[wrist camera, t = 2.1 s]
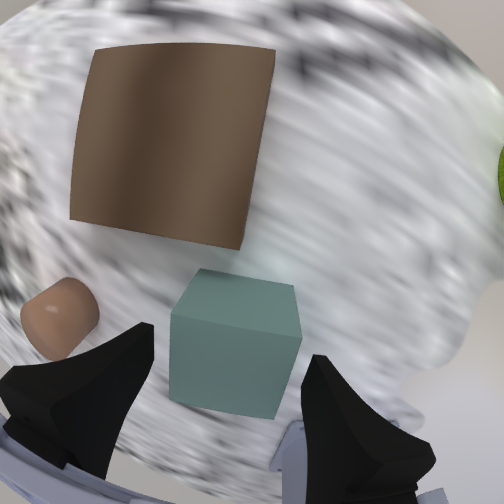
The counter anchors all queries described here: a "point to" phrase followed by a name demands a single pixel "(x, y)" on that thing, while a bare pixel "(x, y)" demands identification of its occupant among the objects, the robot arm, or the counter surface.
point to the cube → (233, 344)
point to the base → (171, 139)
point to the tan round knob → (60, 318)
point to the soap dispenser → (501, 175)
